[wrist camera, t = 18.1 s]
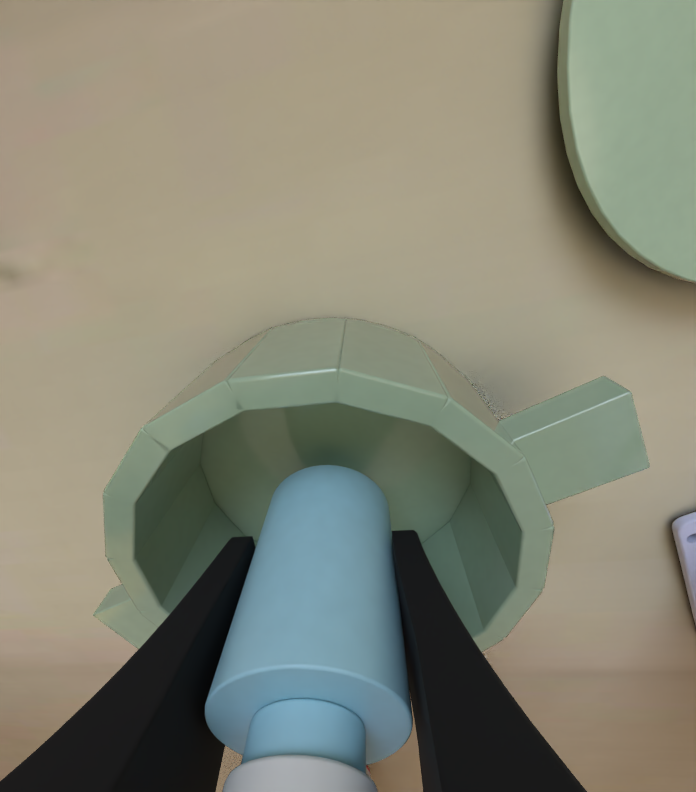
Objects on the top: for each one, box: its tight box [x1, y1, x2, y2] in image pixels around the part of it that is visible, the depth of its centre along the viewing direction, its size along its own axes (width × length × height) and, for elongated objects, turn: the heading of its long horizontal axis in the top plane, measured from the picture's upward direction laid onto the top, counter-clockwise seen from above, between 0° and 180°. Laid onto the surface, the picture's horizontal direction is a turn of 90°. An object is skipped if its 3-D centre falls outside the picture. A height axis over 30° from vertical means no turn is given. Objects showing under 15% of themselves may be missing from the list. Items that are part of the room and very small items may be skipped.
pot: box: [93, 318, 650, 652], centre depth 12 cm, size 12×17×5 cm
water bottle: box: [205, 465, 413, 792], centre depth 8 cm, size 4×4×7 cm
